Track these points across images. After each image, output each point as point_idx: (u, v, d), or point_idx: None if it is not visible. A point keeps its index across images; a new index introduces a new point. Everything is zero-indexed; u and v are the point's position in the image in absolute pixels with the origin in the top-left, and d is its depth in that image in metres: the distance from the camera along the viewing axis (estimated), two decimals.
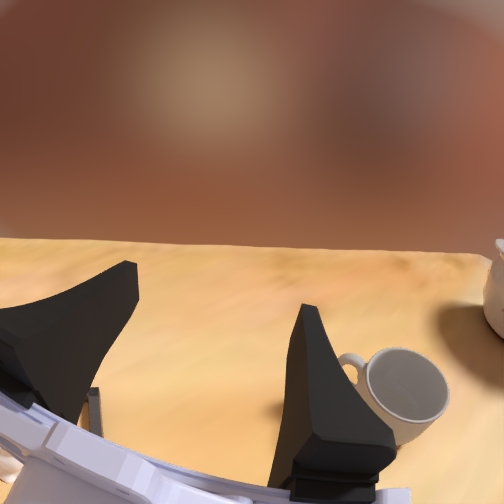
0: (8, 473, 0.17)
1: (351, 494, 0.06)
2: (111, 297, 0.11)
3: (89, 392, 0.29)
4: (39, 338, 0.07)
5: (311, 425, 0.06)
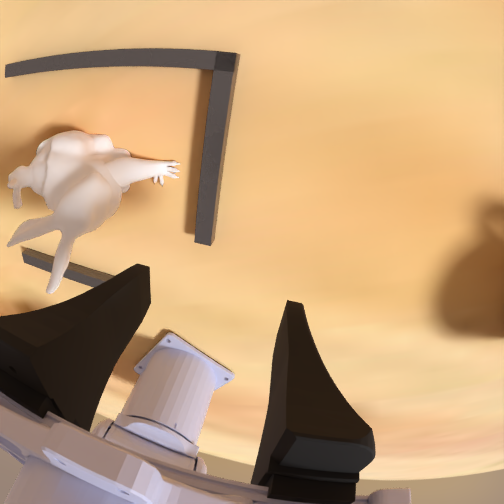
0: None
1: (330, 493, 0.06)
2: (124, 301, 0.11)
3: (217, 62, 0.16)
4: (54, 345, 0.07)
5: (286, 421, 0.06)
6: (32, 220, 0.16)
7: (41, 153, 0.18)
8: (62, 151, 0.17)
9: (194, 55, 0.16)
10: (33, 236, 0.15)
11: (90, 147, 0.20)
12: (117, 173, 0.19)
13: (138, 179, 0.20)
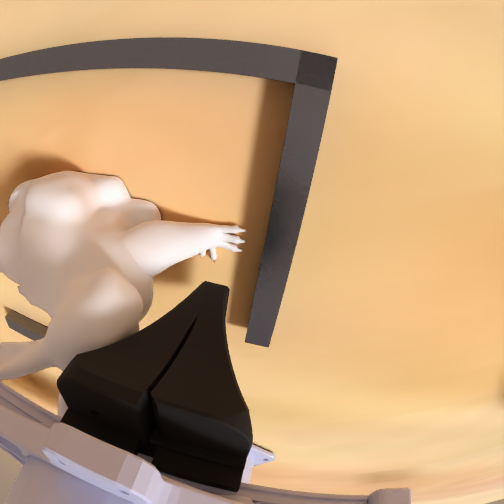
0: None
1: (213, 475, 0.06)
2: None
3: (302, 70, 0.09)
4: (154, 386, 0.07)
5: (155, 388, 0.07)
6: (10, 345, 0.09)
7: (12, 215, 0.10)
8: (44, 216, 0.10)
9: (259, 54, 0.09)
10: (17, 377, 0.08)
11: (92, 200, 0.12)
12: (144, 256, 0.11)
13: (179, 260, 0.13)
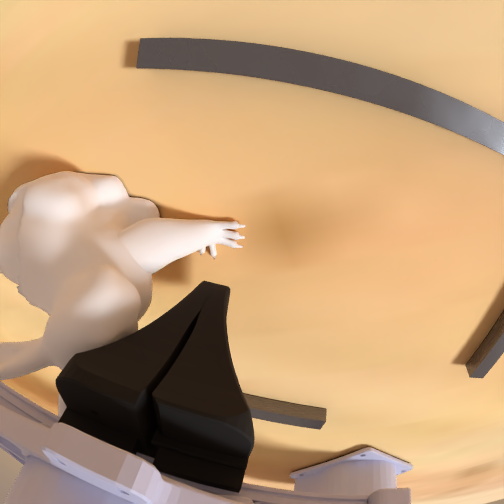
0: None
1: (215, 475, 0.06)
2: None
3: None
4: (152, 385, 0.07)
5: (156, 388, 0.07)
6: (9, 345, 0.08)
7: (11, 216, 0.10)
8: (42, 215, 0.10)
9: None
10: (16, 376, 0.08)
11: (90, 200, 0.12)
12: (143, 253, 0.11)
13: (178, 257, 0.12)
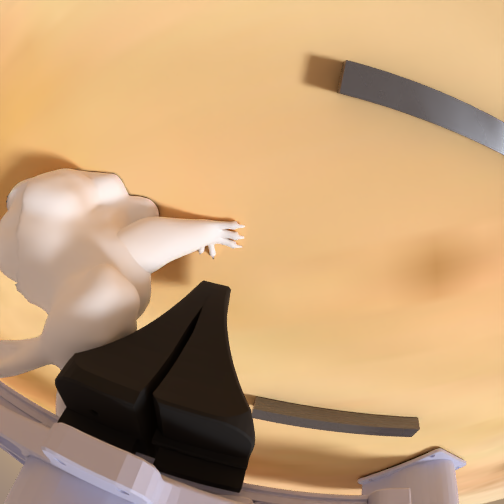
0: None
1: (215, 475, 0.06)
2: None
3: None
4: (152, 385, 0.07)
5: (157, 388, 0.07)
6: (7, 343, 0.08)
7: (10, 213, 0.10)
8: (42, 213, 0.10)
9: None
10: (14, 374, 0.08)
11: (90, 198, 0.12)
12: (142, 252, 0.11)
13: (178, 256, 0.12)
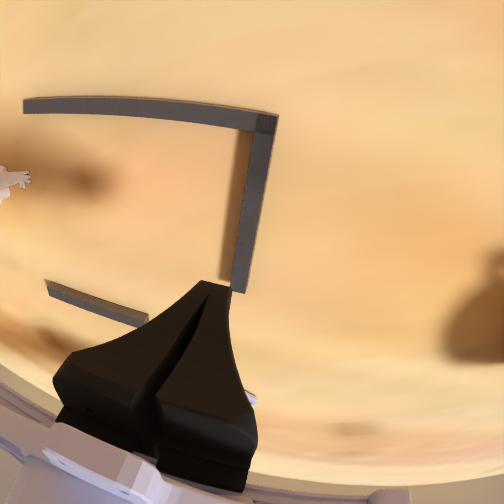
0: None
1: (218, 476, 0.06)
2: (197, 322, 0.11)
3: (257, 124, 0.18)
4: (149, 384, 0.07)
5: (160, 389, 0.07)
6: None
7: None
8: None
9: (234, 115, 0.18)
10: None
11: None
12: None
13: (4, 187, 0.22)
